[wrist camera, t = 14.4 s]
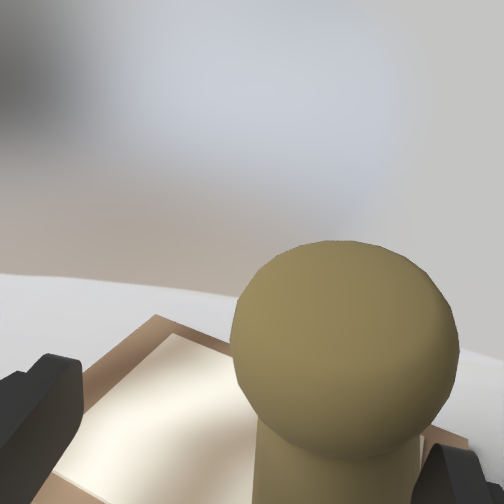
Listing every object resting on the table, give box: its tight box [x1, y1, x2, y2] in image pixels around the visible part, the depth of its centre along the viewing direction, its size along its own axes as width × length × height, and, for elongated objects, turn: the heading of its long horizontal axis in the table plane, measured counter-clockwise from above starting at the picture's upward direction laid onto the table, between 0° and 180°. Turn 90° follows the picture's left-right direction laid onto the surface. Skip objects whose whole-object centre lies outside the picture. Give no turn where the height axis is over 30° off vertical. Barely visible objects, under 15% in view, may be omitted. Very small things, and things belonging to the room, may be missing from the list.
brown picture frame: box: [31, 314, 468, 504], centre depth 20 cm, size 18×12×1 cm, turn 65°
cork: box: [230, 241, 460, 504], centre depth 13 cm, size 6×6×11 cm
